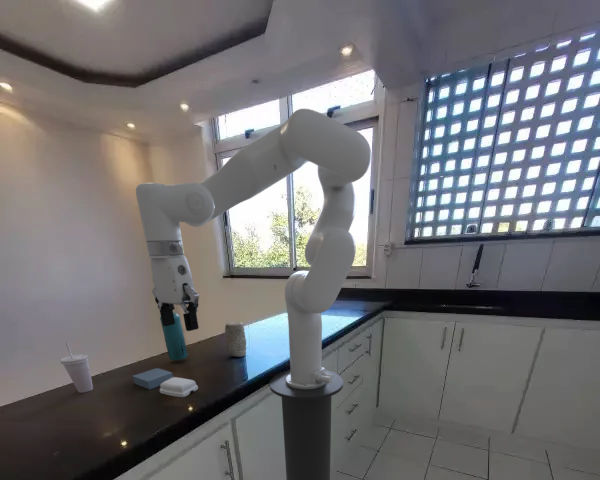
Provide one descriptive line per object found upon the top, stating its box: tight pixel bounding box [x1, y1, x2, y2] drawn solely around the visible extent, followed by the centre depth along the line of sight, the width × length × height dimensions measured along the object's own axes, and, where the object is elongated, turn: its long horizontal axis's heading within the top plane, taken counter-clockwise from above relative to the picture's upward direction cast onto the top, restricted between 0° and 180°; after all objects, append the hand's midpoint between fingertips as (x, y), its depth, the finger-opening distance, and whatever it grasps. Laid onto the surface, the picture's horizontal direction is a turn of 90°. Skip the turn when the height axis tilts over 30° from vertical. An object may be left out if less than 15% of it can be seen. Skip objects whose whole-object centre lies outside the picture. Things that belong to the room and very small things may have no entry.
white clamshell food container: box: [159, 376, 199, 398], centre depth 86 cm, size 9×7×3 cm
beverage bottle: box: [159, 304, 188, 361], centre depth 105 cm, size 6×7×20 cm
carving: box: [224, 321, 247, 358], centre depth 111 cm, size 6×8×12 cm
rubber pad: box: [132, 367, 174, 390], centre depth 92 cm, size 8×8×2 cm
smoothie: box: [59, 341, 94, 394], centre depth 86 cm, size 6×6×14 cm
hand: (180, 327), depth 77 cm, fingers open, 9 cm apart
